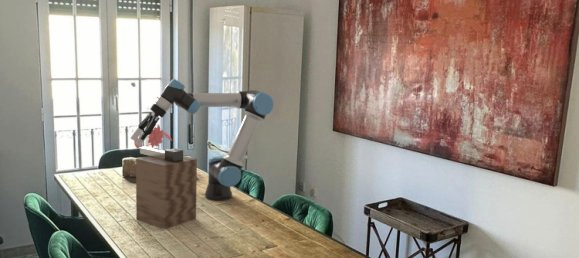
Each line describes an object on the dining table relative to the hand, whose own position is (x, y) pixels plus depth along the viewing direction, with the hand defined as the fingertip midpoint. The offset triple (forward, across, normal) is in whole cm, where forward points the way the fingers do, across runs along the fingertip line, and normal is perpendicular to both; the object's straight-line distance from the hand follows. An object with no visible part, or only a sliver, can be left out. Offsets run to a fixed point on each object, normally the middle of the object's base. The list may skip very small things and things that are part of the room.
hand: (134, 142), depth 243 cm
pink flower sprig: (+17, -51, +38) cm, 66 cm away
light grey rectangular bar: (-1, +9, +12) cm, 15 cm away
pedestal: (+22, +14, +31) cm, 41 cm away
